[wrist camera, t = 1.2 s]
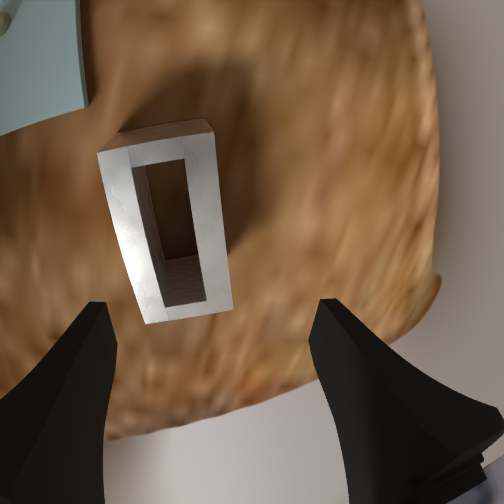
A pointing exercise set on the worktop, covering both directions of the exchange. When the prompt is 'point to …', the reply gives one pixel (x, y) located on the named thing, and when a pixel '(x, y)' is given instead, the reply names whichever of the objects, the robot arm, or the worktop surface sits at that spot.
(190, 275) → the block
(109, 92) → the worktop surface
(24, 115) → the board
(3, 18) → the locating pin
